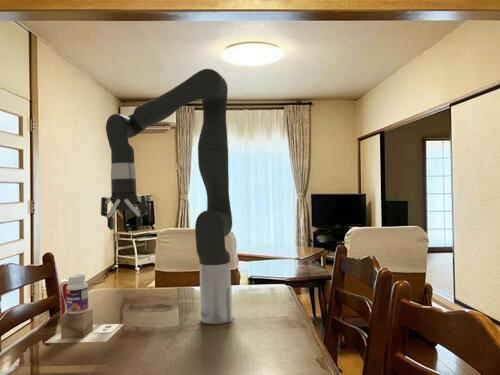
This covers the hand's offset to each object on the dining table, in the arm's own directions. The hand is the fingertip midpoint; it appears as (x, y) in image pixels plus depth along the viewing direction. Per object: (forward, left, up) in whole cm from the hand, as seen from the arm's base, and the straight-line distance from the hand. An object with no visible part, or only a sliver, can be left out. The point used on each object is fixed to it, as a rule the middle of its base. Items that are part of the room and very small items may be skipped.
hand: (125, 229), depth 131 cm
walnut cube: (+7, +19, -27) cm, 34 cm away
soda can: (+18, 0, -28) cm, 33 cm away
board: (+5, +18, -28) cm, 34 cm away
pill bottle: (+7, +19, -21) cm, 29 cm away
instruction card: (+1, +15, -27) cm, 31 cm away
